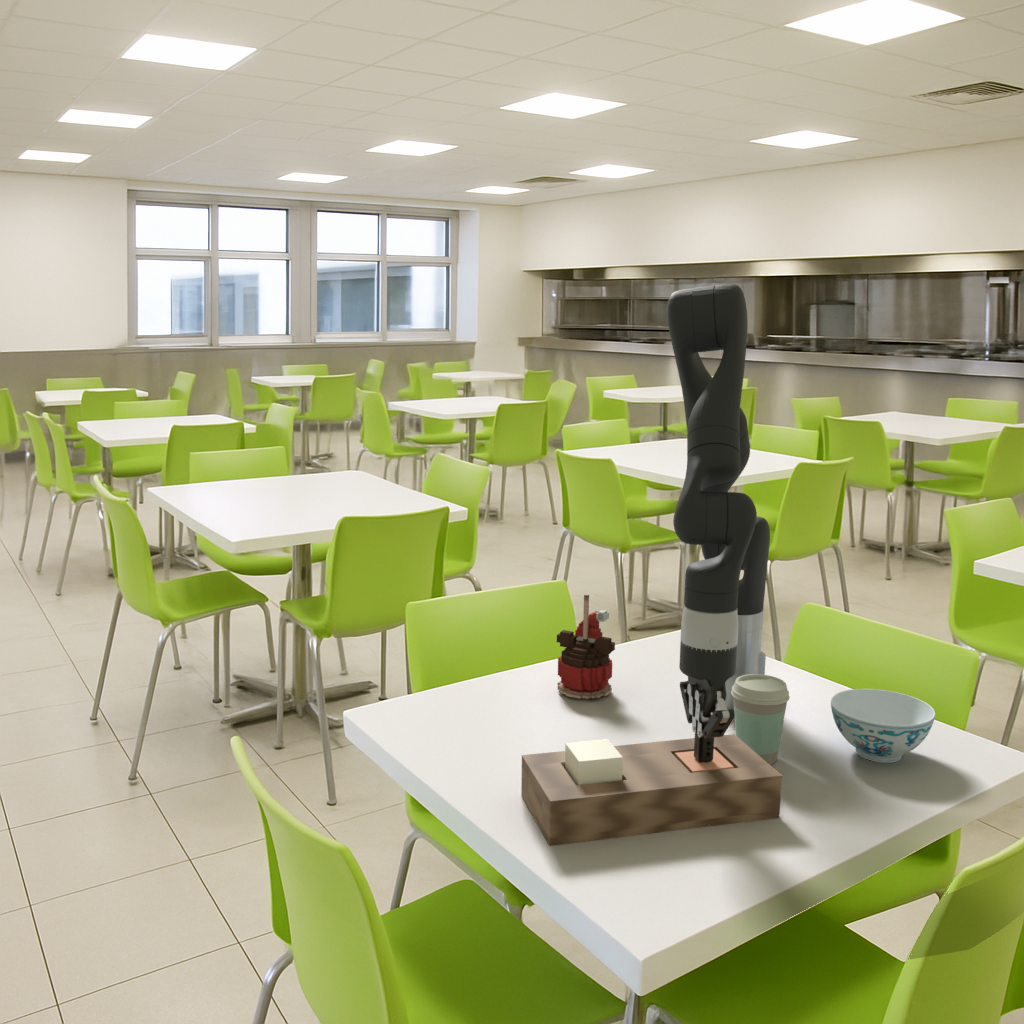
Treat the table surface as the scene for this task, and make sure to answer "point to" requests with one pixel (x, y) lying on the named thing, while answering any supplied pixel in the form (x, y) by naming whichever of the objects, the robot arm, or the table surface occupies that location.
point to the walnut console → (650, 792)
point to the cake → (586, 657)
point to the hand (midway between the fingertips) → (703, 759)
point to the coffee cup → (760, 712)
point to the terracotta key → (696, 766)
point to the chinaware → (881, 722)
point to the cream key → (593, 762)
